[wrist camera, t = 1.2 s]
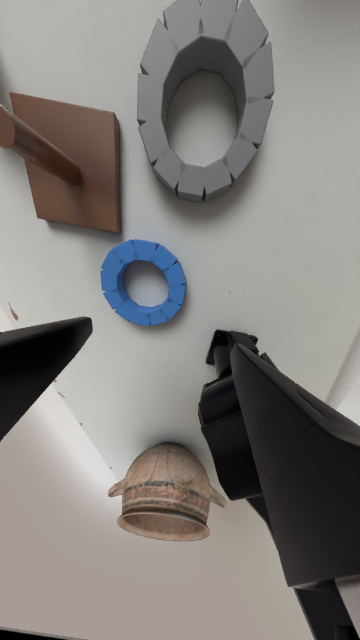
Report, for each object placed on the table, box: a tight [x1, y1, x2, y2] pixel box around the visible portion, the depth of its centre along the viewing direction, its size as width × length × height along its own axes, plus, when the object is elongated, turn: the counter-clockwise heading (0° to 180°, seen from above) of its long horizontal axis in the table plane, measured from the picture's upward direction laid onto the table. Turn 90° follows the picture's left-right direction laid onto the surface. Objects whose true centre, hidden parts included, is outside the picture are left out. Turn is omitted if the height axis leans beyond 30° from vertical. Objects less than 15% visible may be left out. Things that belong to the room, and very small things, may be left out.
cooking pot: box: [108, 442, 226, 541], centre depth 33 cm, size 25×19×12 cm
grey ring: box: [137, 0, 274, 202], centre depth 12 cm, size 10×10×2 cm
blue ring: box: [100, 239, 186, 326], centre depth 19 cm, size 10×10×2 cm
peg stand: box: [0, 92, 121, 233], centre depth 12 cm, size 9×9×7 cm
